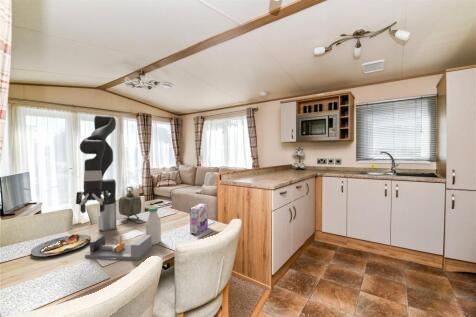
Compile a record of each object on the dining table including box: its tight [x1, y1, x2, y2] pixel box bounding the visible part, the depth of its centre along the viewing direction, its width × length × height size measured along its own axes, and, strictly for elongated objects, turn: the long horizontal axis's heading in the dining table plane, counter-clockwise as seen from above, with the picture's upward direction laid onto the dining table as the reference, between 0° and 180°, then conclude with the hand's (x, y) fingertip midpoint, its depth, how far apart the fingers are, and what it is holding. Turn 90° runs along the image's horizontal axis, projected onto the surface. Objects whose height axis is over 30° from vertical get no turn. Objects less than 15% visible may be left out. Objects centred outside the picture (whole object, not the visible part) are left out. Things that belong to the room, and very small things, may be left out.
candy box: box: [189, 203, 209, 235], centre depth 138 cm, size 14×6×16 cm, turn 161°
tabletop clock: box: [118, 186, 142, 221], centre depth 160 cm, size 14×9×25 cm, turn 66°
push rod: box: [89, 235, 120, 252], centre depth 109 cm, size 12×8×5 cm, turn 84°
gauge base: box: [84, 234, 153, 262], centre depth 108 cm, size 28×12×8 cm, turn 84°
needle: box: [116, 233, 126, 252], centre depth 108 cm, size 1×5×8 cm, turn 174°
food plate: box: [30, 234, 92, 257], centre depth 115 cm, size 25×23×4 cm
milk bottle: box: [145, 206, 162, 246], centre depth 120 cm, size 8×8×20 cm
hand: (92, 212), depth 105 cm, fingers open, 8 cm apart
